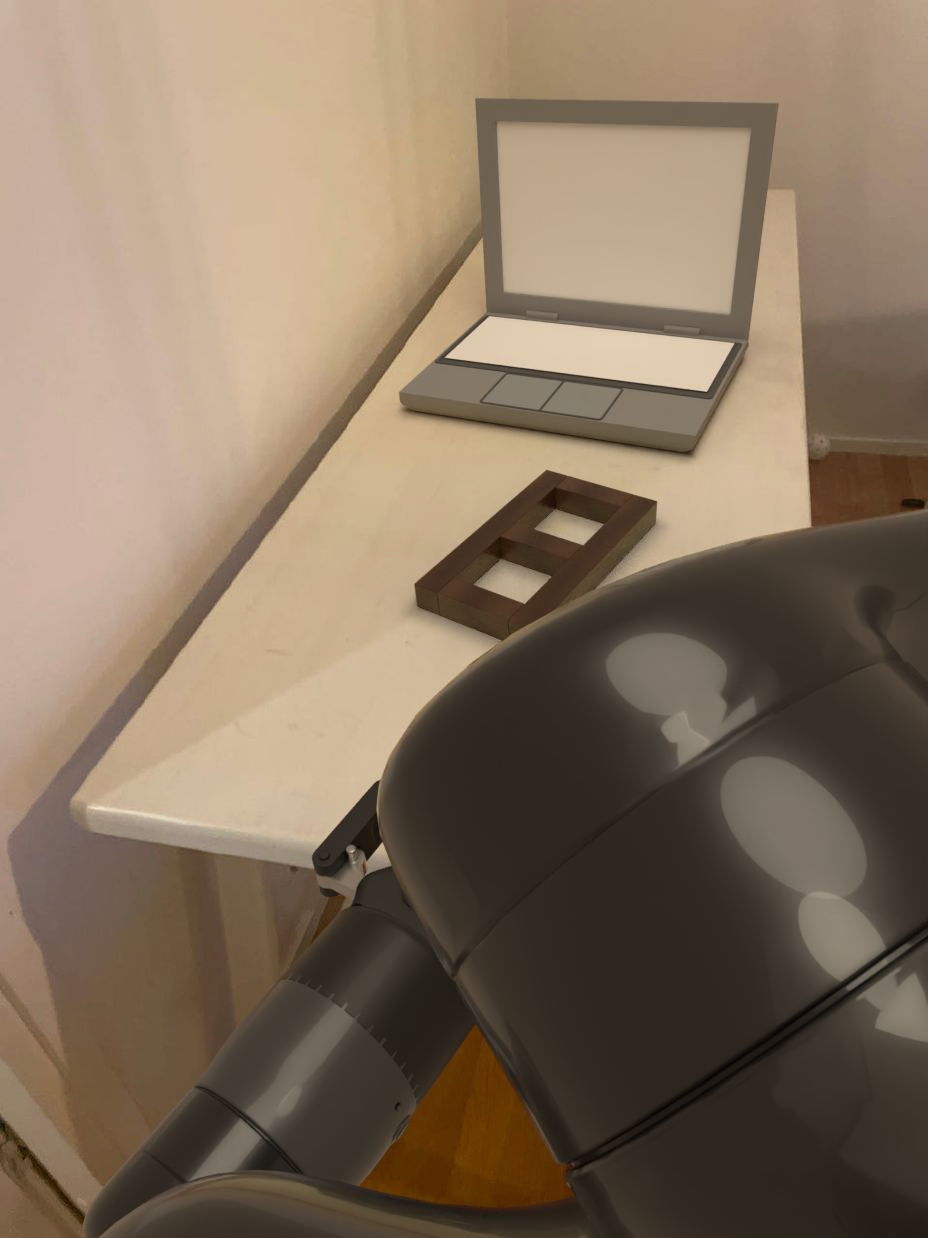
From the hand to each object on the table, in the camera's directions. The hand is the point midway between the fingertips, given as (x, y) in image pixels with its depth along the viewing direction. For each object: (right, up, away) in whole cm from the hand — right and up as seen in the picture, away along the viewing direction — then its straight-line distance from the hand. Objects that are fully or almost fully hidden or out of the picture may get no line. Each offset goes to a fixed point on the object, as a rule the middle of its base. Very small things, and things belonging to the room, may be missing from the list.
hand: (546, 791), depth 48 cm
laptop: (+10, +37, +66) cm, 77 cm away
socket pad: (+3, +14, +38) cm, 41 cm away
